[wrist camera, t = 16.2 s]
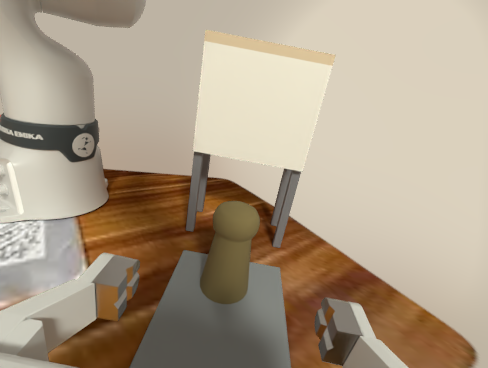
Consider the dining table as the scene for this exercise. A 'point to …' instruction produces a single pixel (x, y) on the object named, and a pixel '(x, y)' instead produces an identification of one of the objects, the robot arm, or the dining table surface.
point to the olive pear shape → (230, 253)
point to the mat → (216, 323)
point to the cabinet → (257, 112)
